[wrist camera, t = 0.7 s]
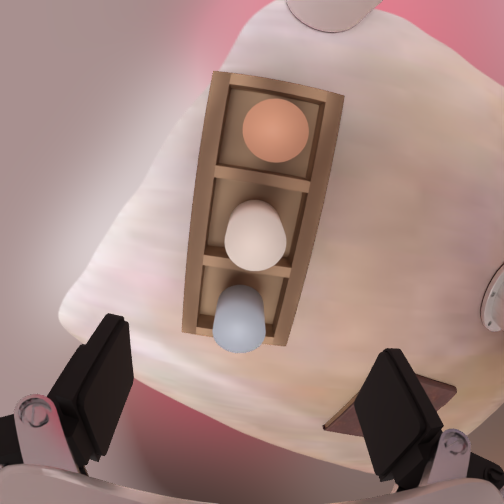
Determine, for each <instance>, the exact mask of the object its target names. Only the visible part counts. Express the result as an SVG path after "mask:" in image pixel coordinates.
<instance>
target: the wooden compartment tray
mask: <svg viewBox="0 0 504 504" xmlns="http://www.w3.org/2000/svg"><path fill="white" fill-rule="evenodd" d="M267 99H283V100H287V101H289V102H291V103H293V104H294V105H296V106H297V107H298V108H299V109H300V110H301V111H302V112H303V114H304V115H305V117H306V119H307V122H308V127H309V136H308V140H307V143H306V145H305V147H304V148H303V150H302V151H301V152H300V153H299V154H298V155H297V156H296V157H294V158H292V159H290V160H288V161H285V162H278V163H274V162H268V161H265V160H262V159H260V158H258V157H257V156H255V155H254V154H253V153H252V152H251V151H250V150H249V148H248V147H247V145H246V143H245V141H244V138H243V130H242V129H243V122H244V119H245V117H246V115H247V113H248V112H249V110H250V109H251V108H252V107H253V106H255V105H256V104H257V103H259V102H261V101H264V100H267ZM343 102H344V95H340V94H336V93H333V92H329V91H325V90H321V89H317V88H313V87H308V86H304V85H300V84H295V83H290V82H285V81H280V80H275V79H269V78H263V77H257V76H251V75H244V74H236V73H228V72H219V71H213V75H212V80H211V85H210V91H209V96H208V102H207V108H206V113H205V119H204V126H203V132H202V138H201V145H200V152H199V158H198V166H197V173H196V180H195V188H194V196H193V204H192V213H191V222H190V232H189V241H188V252H187V263H186V275H185V288H184V302H183V318H182V332H184V333H190V334H196V335H202V336H208V337H213V324H214V319H215V313H216V307H217V302H218V298H219V296H220V294H221V293H222V292H223V291H224V290H225V289H227V288H228V287H231V286H234V285H246V286H249V287H252V288H253V289H255V290H256V291H257V292H258V293H259V294H260V295H261V297H262V299H263V304H264V317H265V330H266V334H265V339H264V341H263V342H262V344H268V345H277V346H286V344H287V341H288V337H289V334H290V331H291V327H292V324H293V320H294V317H295V313H296V310H297V306H298V302H299V299H300V295H301V292H302V288H303V284H304V280H305V277H306V273H307V269H308V265H309V261H310V257H311V253H312V249H313V245H314V241H315V237H316V233H317V229H318V225H319V220H320V216H321V212H322V207H323V203H324V198H325V194H326V189H327V185H328V180H329V175H330V171H331V166H332V161H333V156H334V151H335V146H336V141H337V136H338V130H339V125H340V119H341V114H342V108H343ZM248 200H261V201H264V202H266V203H268V204H270V205H271V206H272V207H273V208H274V209H275V210H276V211H277V213H278V215H279V218H280V221H281V223H282V226H283V229H284V232H285V235H286V249H285V252H284V254H283V256H282V258H281V259H280V260H279V261H278V262H277V263H276V264H275V265H274V266H272V267H270V268H268V269H265V270H261V271H249V270H245V269H243V268H240V267H239V266H237V265H236V264H235V263H233V262H232V260H231V259H230V258H229V256H228V254H227V252H226V249H225V235H226V231H227V227H228V223H229V219H230V216H231V214H232V212H233V210H234V209H235V208H236V207H237V206H238V205H239V204H241V203H243V202H245V201H248Z"/></svg>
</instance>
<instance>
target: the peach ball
mask: <svg viewBox="0 0 504 504" xmlns="http://www.w3.org/2000/svg"><path fill="white" fill-rule="evenodd" d="M242 130H243V138H244V141H245V143H246V145H247V147H248V148H249V150H250V151H251V152H252V153H253V154H254V155H255V156H257V157H258V158H260V159H262V160H265V161H268V162H274V163H278V162H285V161H288V160H290V159H292V158H294V157H296V156H297V155H298V154H299V153H300V152H301V151H302V150H303V148H304V147H305V145H306V143H307V140H308V136H309V127H308V122H307V119H306V117H305V115H304V114H303V112H302V111H301V110H300V109H299V108H298V107H297V106H296V105H294V104H293V103H291V102H289V101H287V100H283V99H267V100H264V101H261V102H259V103H257V104H256V105H255V106H253V107H252V108H251V109H250V110H249V112H248V113H247V115H246V117H245V119H244V122H243V129H242Z"/></svg>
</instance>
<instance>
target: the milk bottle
mask: <svg viewBox="0 0 504 504" xmlns="http://www.w3.org/2000/svg"><path fill="white" fill-rule="evenodd" d="M286 1H287V4H288V7H289V9H290V10H291V12H292V13H293V14H294V15H295V16H296V17H297V18H298V19H299V20H300V21H301V22H303V23H305V24H306V25H308V26H310V27H312V28H314V29H317V30H321V31H326V32H341V31H345V30H348V29H350V28H352V27H354V26H355V25H356V24H357V23H359V22H360V21H361V20H362V19H363V18H364V17H365V16H366V15H367V14H368V13H370V12H371V11H372V10H373V9H374V8H375V7H376V6H377V5H378V4H379V3H380V2H382V1H383V0H286Z"/></svg>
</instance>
